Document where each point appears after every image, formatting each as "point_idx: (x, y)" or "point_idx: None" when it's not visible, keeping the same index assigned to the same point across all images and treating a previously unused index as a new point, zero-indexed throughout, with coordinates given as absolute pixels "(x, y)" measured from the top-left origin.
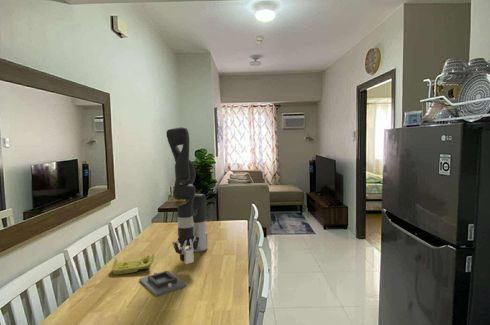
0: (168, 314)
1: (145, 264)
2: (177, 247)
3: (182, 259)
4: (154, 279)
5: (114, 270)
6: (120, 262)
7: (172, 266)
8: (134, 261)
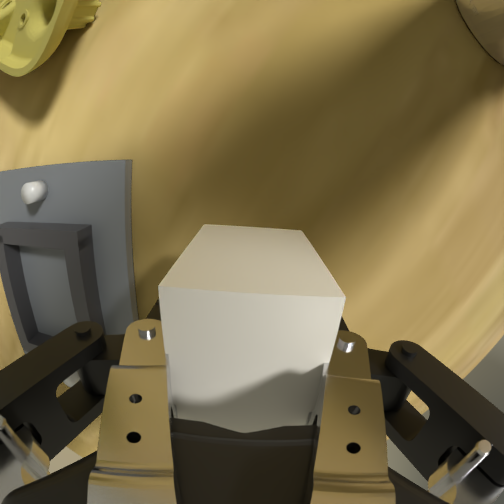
0: None
1: (32, 43)
2: (47, 444)
3: None
4: (12, 293)
5: None
6: None
7: (219, 75)
8: None
